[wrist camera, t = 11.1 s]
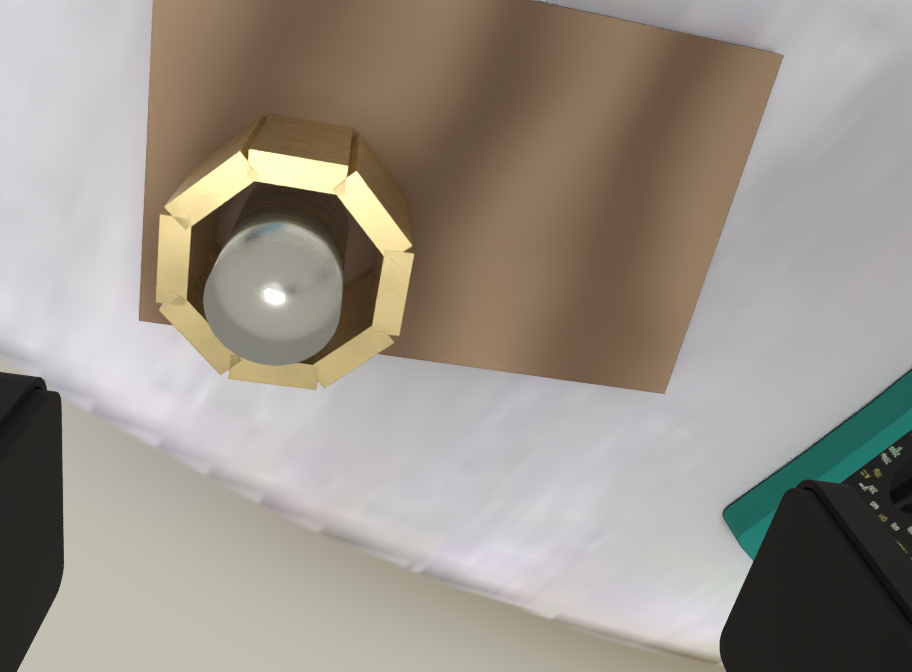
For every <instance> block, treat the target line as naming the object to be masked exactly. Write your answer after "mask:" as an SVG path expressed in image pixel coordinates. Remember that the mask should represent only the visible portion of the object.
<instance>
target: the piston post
mask: <svg viewBox="0 0 912 672" xmlns="http://www.w3.org/2000/svg"><path fill="white" fill-rule="evenodd" d="M347 237H348V216H347V212H346V209H345V206H344V204H343V203H342V201H341V200H340V199H339V197H338V196H337V195H336V194H330V193H324V192H318V191H312V190H306V189H300V188H294V187H287V186H281V185H275V184H269V183H263V182H261V183H260V184H258V185H257V186H256V187H255V188H254V189H253V190H252V192H251V193H250V195H249V196H248V198H247V200H246V202H245V204H244V206H243V208H242V210H241V212H240V214H239V216H238V218H237V220H236V222H235V224H234V226H233V228H232V230H231V232H230V234H229V236H228V239H227V241H226V243H225V245H224V247H223V249H222V251H221V253H220V255H219V257H218V259H217V261H216V263H215V265H214V267H213V269H212V271H211V273H210V275H209V277H208V279H207V282H206V285H205V289H204V296H203V305H204V312H205V315H206V319H207V322H208V324H209V326H210V328H211V330H212V331H213V333H214V335H215V336H216V337H217V338H218V340H219V341H220V342H221V343H222V344H223V345H224V346H225V347H226V348H227V349H229V350H230V351H231V352H233V353H234V354H236V355H238V356H239V357H241V358H244V359H246V360H248V361H251V362H254V363H258V364H263V365H272V366H280V365H289V364H294V363H297V362H300V361H303V360H305V359H308V358H309V357H311V356H313V355H315V354H316V353H317V352H319V351H320V350H321V349H322V348H323V347H324V346H325V345H326V344H327V343H328V342H329V341H330V339H331V338H332V336H333V334H334V333H335V331H336V328H337V326H338V323H339V319H340V312H341V301H342V291H343V280H344V269H345V259H346V248H347Z"/></svg>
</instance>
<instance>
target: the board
mask: <svg viewBox="0 0 912 672" xmlns="http://www.w3.org/2000/svg"><path fill="white" fill-rule="evenodd" d="M783 56H784V55H781V54H777V53H773V52H768V51H764V50H759V49H755V48H750V47H745V46H741V45H736V44H732V43H727V42H722V41H718V40H713V39H709V38H704V37H699V36H695V35H690V34H686V33H681V32H677V31H672V30H667V29H663V28H658V27H654V26H649V25H644V24H640V23H635V22H631V21H626V20H621V19H617V18H612V17H608V16H603V15H598V14H594V13H589V12H585V11H580V10H575V9H571V8H566V7H562V6H557V5H552V4H548V3H543V2H539V1H534V0H153V13H152V36H151V58H150V81H149V103H148V126H147V148H146V171H145V193H144V216H143V238H142V261H141V283H140V305H139V321H146V322H153V323H160V324H167V325H172V323H171V322H170V321H169V320H168V319H167V318H166V317H165V316H164V315H163V314H162V313H161V312H160V311H159V309H160V307H161V306H162V304H163V303H158V302H156V286H157V264H158V243H159V222H160V214H161V212H162V211H163V210H164V208H165V207H164V206H165V205H166V203H167V202H168V201H169V200H170V198H171V197H172V196H173V195H174V193H175V192H176V191H177V189H178V188H179V187H180V186H181V184H182V183H183V182H184V181H185V179H186V178H187V177H188V175H189V174H190V173H191V172H192V170H193V169H194V168H195V167H196V165H197V164H198V163H199V162H200V161H201V160H202V159H204V158H205V157H207V156H208V155H209V154H211V153H212V152H213V151H215V150H216V149H217V148H219V147H220V146H221V145H223V144H224V143H225V142H227V141H228V140H230V139H231V138H232V137H234V136H235V135H236V134H238V133H239V132H240V131H242V130H243V129H244V128H246V127H247V126H249V125H250V124H251V123H253V122H254V121H255V120H257V119H258V118H259V117H261V116H262V115H263V116H264V117H265V119H266V120H267V118H268V117H269V115H270V113H272V114H277V115H283V116H289V117H294V118H300V119H305V120H311V121H317V122H322V123H328V124H333V125H339V126H345V127H350V128H353V130H352V137H354V136H355V135H356V134H358V133H359V132H360V133H361V135H362V136H363V138H364V139H365V140H366V142H367V143H368V144H369V146H370V147H371V149H372V150H373V151H374V153H375V154H376V155H377V157H378V158H379V160H380V161H381V162H382V164H383V165H384V166H385V168H386V169H387V171H388V172H389V173H390V175H391V176H392V177H393V179H394V180H395V182H396V183H397V184H398V186H399V187H400V188H401V190H402V191H403V193H404V194H405V195H406V197H407V204H408V207H409V215H410V223H411V232H412V240H413V248H414V258H413V263H412V269H411V274H410V280H409V285H408V290H407V296H406V301H405V307H404V312H403V317H402V323H401V328H400V334H399V336H396V335H394V341H395V343H393V344H392V345H390V346H388V347H387V348H385V349H384V350H382V351H381V352H379V353H378V354H382V355H389V356H397V357H404V358H411V359H418V360H425V361H432V362H440V363H447V364H454V365H461V366H468V367H475V368H483V369H490V370H497V371H504V372H511V373H518V374H526V375H533V376H540V377H547V378H554V379H561V380H569V381H576V382H583V383H590V384H597V385H604V386H612V387H619V388H626V389H633V390H640V391H647V392H655V393H662V394H665V391H666V388H667V385H668V382H669V380H670V377H671V374H672V371H673V368H674V365H675V363H676V360H677V357H678V354H679V351H680V348H681V346H682V343H683V340H684V337H685V334H686V331H687V329H688V326H689V323H690V320H691V317H692V314H693V311H694V309H695V306H696V303H697V300H698V297H699V294H700V292H701V289H702V286H703V283H704V280H705V277H706V275H707V272H708V269H709V266H710V263H711V260H712V258H713V255H714V252H715V249H716V246H717V243H718V241H719V238H720V235H721V232H722V229H723V226H724V223H725V221H726V218H727V215H728V212H729V209H730V206H731V204H732V201H733V198H734V195H735V192H736V189H737V187H738V184H739V181H740V178H741V175H742V172H743V170H744V167H745V164H746V161H747V158H748V155H749V152H750V150H751V147H752V144H753V141H754V138H755V135H756V133H757V130H758V127H759V124H760V121H761V118H762V116H763V113H764V110H765V107H766V104H767V101H768V99H769V96H770V93H771V90H772V87H773V84H774V81H775V79H776V76H777V73H778V70H779V67H780V64H781V62H782V59H783ZM260 183H261V182H257V181H254V182H252V183H251V184H250V185H248V186H247V187H245V188H244V189H243V190H241V191H240V192H238V193H237V194H236V195H234V196H233V197H232V198H230V199H229V200H227V201H226V202H225V203H223V204H222V205H220V206H219V217H218V229H217V243H218V245H219V246H220V247H221V248H222V249H223V247H224V245H225V243H226V241H227V239H228V236H229V234H230V232H231V230H232V228H233V226H234V224H235V222H236V220H237V218H238V216H239V214H240V212H241V210H242V208H243V206H244V204H245V202H246V200H247V198H248V196H249V195H250V193H251V192H252V190H253V189H254V188H255V187H256V186H257V185H258V184H260ZM344 206H345V205H344ZM345 209H346V212H347V216H348V237H347V248H346V259H345V269H344V280H343V286H344V285H345V284H347V283H348V282H350V281H351V280H353V279H354V278H356V277H357V276H359V275H360V274H362V273H363V272H365V271H366V270H368V269H369V268H370V267H372V266H373V261H374V255H375V249H376V245H375V244H374V243H373V241H372V240H371V239H370V238H369V236H368V235H367V234H366V232H365V231H364V230H363V228H362V227H361V226H360V225H359V223H358V222H357V221H356V219H355V218H354V217H353V215H352V214H351V213H350V212H349V210H348V209H347V208H346V206H345Z"/></svg>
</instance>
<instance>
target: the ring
mask: <svg viewBox="0 0 912 672" xmlns="http://www.w3.org/2000/svg"><path fill="white" fill-rule="evenodd" d="M352 130H353V128H350V127H345V126H339V125H333V124H328V123H322V122H317V121H311V120H305V119H300V118H294V117H289V116H283V115H277V114H272V113H270V115H269V117H268V118H267V120H266V119H265V117H264V116H263V115H262V116H261V117H259V118H258V119H257V120H255V121H254V122H253V123H251V124H250V125H249V126H247V127H246V128H244V129H243V130H242V131H240V132H239V133H238V134H236V135H235V136H234V137H232V138H231V139H230V140H228V141H227V142H225V143H224V144H223V145H221V146H220V147H219V148H217V149H216V150H215V151H213V152H212V153H211V154H209V155H208V156H207V157H205V158H204V159H202V160H201V161H200V162H199V163H198V164H197V165H196V167H195V168H194V169H193V170H192V172H191V173H190V174H189V175H188V177H187V178H186V179H185V181H184V182H183V183H182V184H181V186H180V187H179V188H178V189H177V191H176V192H175V193H174V195H173V196H172V197H171V198H170V200H169V201H168V202H167V203H166V205H165V206H164V207H165V208H164V210H163V211H162V212H161V214H160V222H159V243H158V264H157V286H156V302H158V303H163V304H162V306H161V307H160V309H159V311H160V312H161V313H162V314H163V315H164V316H165V317H166V318H167V319H168V320H169V321H170V322H171V323H172V325H173V326H174V327H175V328H176V329H177V330H178V331H179V332H180V333H181V334H182V335H183V336H184V337H185V338H186V339H187V340H188V341H189V342H190V343H191V345H192V346H193V347H194V348H195V349H196V350H197V351H198V352H199V353H200V354H201V355H202V356H203V357H204V358H205V359H206V360H207V361H208V362H209V364H210V365H211V366H212V367H213V368H214V369H215V370H216V371H217V372H218V373H219V374H220V375H221V374H223V373H224V372H226V371H227V370H229V377H228V379H233V380H241V381H249V382H257V383H264V384H272V385H280V386H288V387H296V388H304V389H312V390H316V388H317V381H319V383H320V384H321V385H322V386H323V387H324V388H326V387H327V386H329V385H330V384H332V383H333V382H335V381H336V380H338V379H339V378H341V377H342V376H344V375H346V374H347V373H349V372H350V371H352V370H353V369H355V368H356V367H358V366H359V365H361V364H362V363H364V362H365V361H367V360H369V359H370V358H372V357H373V356H375V355H376V354H378V353H379V352H381V351H382V350H384V349H385V348H387V347H388V346H390V345H392V344H393V343H395V341H394V335H396V336H399V334H400V328H401V323H402V317H403V312H404V307H405V301H406V296H407V290H408V285H409V280H410V274H411V269H412V263H413V258H414V248H413V240H412V232H411V223H410V215H409V207H408V204H407V197H406V195H405V194H404V193H403V191H402V190H401V188H400V187H399V186H398V184H397V183H396V182H395V180H394V179H393V177H392V176H391V175H390V173H389V172H388V171H387V169H386V168H385V166H384V165H383V164H382V162H381V161H380V160H379V158H378V157H377V155H376V154H375V153H374V151H373V150H372V149H371V147H370V146H369V144H368V143H367V142H366V140H365V139H364V138H363V136H362V135H361V133H360V132H359V133H358V134H356V135H355V136H354V137H352ZM254 181H257V182H263V183H269V184H275V185H281V186H287V187H294V188H300V189H306V190H312V191H318V192H324V193H330V194H336V195H337V196H338V197H339V199H340V200H341V201H342V203H343V204H344V205H345V206H346V208H347V209H348V210H349V212H350V213H351V214H352V215H353V217H354V218H355V219H356V221H357V222H358V223H359V225H360V226H361V227H362V228H363V230H364V231H365V232H366V234H367V235H368V236H369V238H370V239H371V240H372V241H373V243H374V244H375V245H376V249H375V255H374V261H373V266H372V267H370V268H369V269H368V270H366V271H365V272H363V273H362V274H360V275H359V276H357V277H356V278H354V279H353V280H351V281H350V282H348V283H347V284H345V285H344V286H343V291H342V301H341V312H340V319H339V323H338V326H337V328H336V331H335V333H334V334H333V336H332V338H331V339H330V341H329V342H328V343H327V344H326V345H325V346H324V347H323V348H322V349H321V350H320V351H319V352H317V353H316V354H315V355H313V356H311V357H309V358H308V359H305V360H303V361H300V362H297V363H294V364H289V365H280V366H272V365H263V364H258V363H254V362H251V361H248V360H246V359H244V358H241V357H239V356H238V355H236V354H234V353H233V352H231V351H230V350H229V349H227V348H226V347H225V346H224V345H223V344H222V343H221V342H220V341H219V340H218V338H217V337H216V336H215V335H214V333H213V331H212V330H211V328H210V326H209V324H208V322H207V319H206V315H205V312H204V305H203V296H204V289H205V285H206V282H207V279H208V277H209V275H210V273H211V271H212V269H213V267H214V265H215V263H216V261H217V259H218V257H219V255H220V253H221V251H222V248H221V247H220V246H219V245H218V243H217V229H218V217H219V206H220V205H222V204H223V203H225V202H226V201H227V200H229V199H230V198H232V197H233V196H234V195H236V194H237V193H238V192H240V191H241V190H243V189H244V188H245V187H247V186H248V185H250V184H251V183H252V182H254Z"/></svg>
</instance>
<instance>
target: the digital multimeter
mask: <svg viewBox="0 0 912 672" xmlns="http://www.w3.org/2000/svg"><path fill="white" fill-rule="evenodd" d="M807 479H810V480H818V481H825V482H833V483H841V484H846V485H849V486H851V487H852V488H853V489H854V490H855V491H856V492H857V493H858V494H859V496H860V497H861V498H862V499H863V500H864V502H865V503H866V504H867V505H868V507H869V508H870V509H871V510H872V512H873V513H874V514H875V515H876V517H877V518H878V519H879V520H880V522H881V523H882V524H883V525H884V526H885V528H886V529H887V530H888V531H889V533H890V534H891V535H892V536H893V538H894V539H895V540H896V541H897V543H898V544H899V545H900V546H901V548H902V549H903V550H904V551H905V552H906V554H907V555H908V556H909V557H910V559H911V560H912V370H911V371H910V372H909V373H907V374H906V375H905V376H904V377H902V378H901V379H900V380H899V381H897V382H896V383H895V384H894V385H892V386H891V387H890V388H889V389H887V390H886V391H885V392H884V393H882V394H881V395H880V396H879V397H878V398H876V399H875V400H874V401H873V402H871V403H870V404H869V405H868V406H866V407H865V408H864V409H862V410H861V411H860V412H858V413H857V414H856V415H854V416H853V417H851V418H850V419H849V420H847V421H846V422H845V423H843V424H842V425H841V426H839V427H838V428H837V429H835V430H834V431H833V432H831V433H830V434H829V435H827V436H826V437H825V438H824V439H822V440H821V441H820V442H818V443H817V444H816V445H814V446H813V447H812V448H810V449H809V450H808V451H806V452H805V453H804V454H802V455H801V456H800V457H798V458H797V459H795V460H794V461H792V462H791V463H790V464H788V465H787V466H785V467H784V468H783V469H781V470H780V471H778V472H777V473H775V474H774V475H773V476H771V477H770V478H768V479H767V480H765V481H764V482H763V483H761V484H760V485H758V486H757V487H755V488H754V489H753V490H751V491H750V492H749V493H747V494H746V495H745V496H743V497H742V498H741V499H739V500H738V501H737V502H735V503H734V504H733V505H731V506H730V507H729V508H728V509H727V510H726V511H725V512H724V516H723V518H724V519H725V521H726V523H727V525H728V526H729V528H730V530H731V531H732V533H733V535H734V536H735V538H736V539H737V541H738V543H739V544H740V546H741V547H742V548H743V550H744V551H745V552H746V553H747V554H748V555H749V556H750V558H751V559H752V560H753V561H754V559H755V557H756V555H757V552H758V550H759V548H760V546H761V543H762V541H763V539H764V537H765V534H766V532H767V530H768V528H769V526H770V523H771V521H772V519H773V517H774V514H775V512H776V510H777V508H778V505H779V503H780V501H781V499H782V497H783V495H784V493H785V492H786V491H787V490H788V489H791V488H796V486H797V485H798V484H799V483H800V482H801V481H803V480H807ZM898 514H899V515H898ZM905 517H906V518H905Z"/></svg>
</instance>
